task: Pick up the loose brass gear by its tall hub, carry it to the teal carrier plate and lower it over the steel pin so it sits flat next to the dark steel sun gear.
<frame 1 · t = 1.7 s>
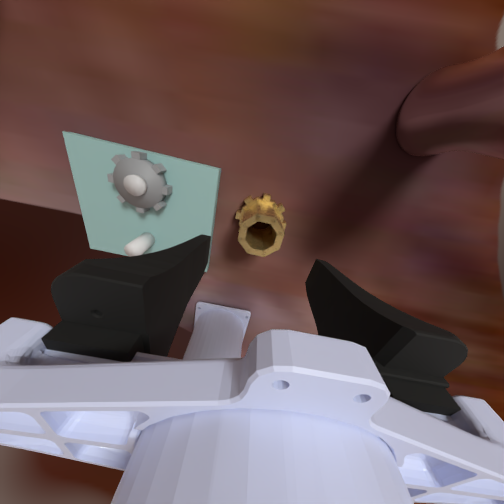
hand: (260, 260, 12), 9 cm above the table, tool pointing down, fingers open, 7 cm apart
planet gear: (260, 218, 20), on the table
carrier plate: (151, 211, 20), on the table
beer glass: (432, 115, 15), on the table
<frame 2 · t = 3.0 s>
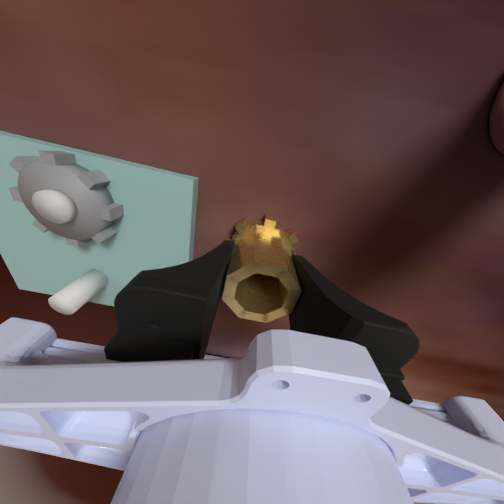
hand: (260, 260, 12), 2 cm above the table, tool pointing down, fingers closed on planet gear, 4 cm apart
planet gear: (260, 249, 14), on the table, touching gripper
carrier plate: (100, 238, 14), on the table
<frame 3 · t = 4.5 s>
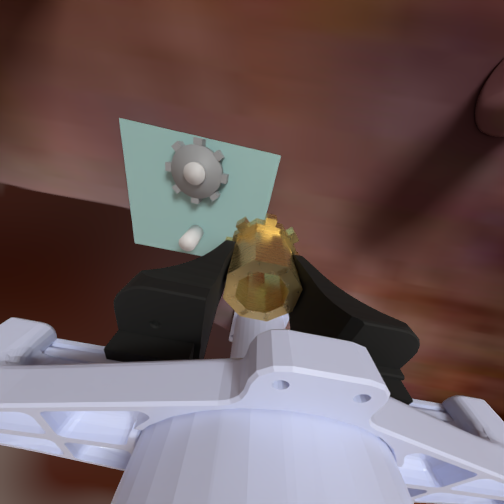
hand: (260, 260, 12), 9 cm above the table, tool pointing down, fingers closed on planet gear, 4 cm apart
planet gear: (261, 248, 14), point 7 cm above the table, touching gripper
carrier plate: (200, 202, 20), on the table
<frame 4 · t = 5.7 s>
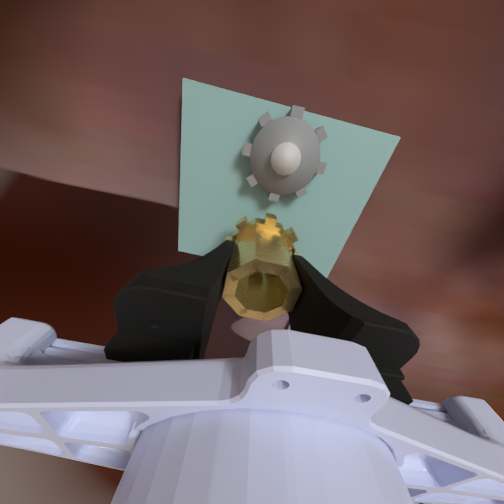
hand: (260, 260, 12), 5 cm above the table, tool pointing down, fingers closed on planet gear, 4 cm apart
planet gear: (261, 247, 14), point 3 cm above the table, touching gripper
carrier plate: (269, 200, 15), on the table
when the fingers open (4 cm above the table, at t = 6.3 s): planet gear drops 1 cm, resting on carrier plate.
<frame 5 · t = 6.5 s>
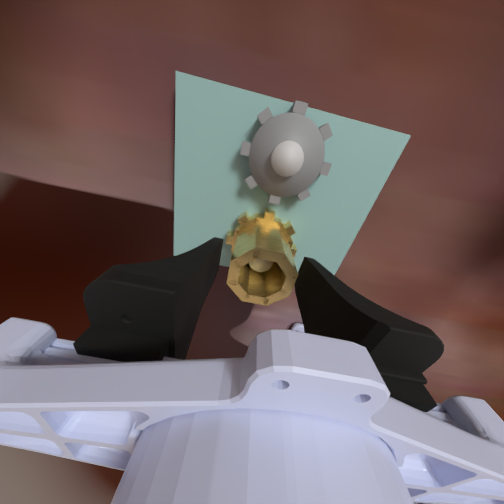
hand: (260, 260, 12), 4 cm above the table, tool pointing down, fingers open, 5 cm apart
planet gear: (261, 241, 15), point 1 cm above the table, touching carrier plate
carrier plate: (270, 202, 14), on the table
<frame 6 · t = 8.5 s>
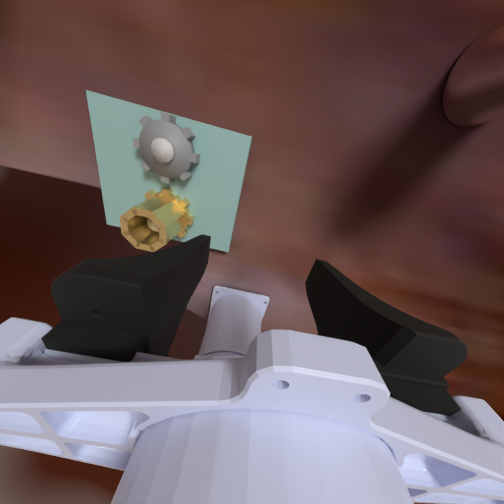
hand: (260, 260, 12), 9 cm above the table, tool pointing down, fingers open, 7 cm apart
planet gear: (169, 213, 20), point 1 cm above the table, touching carrier plate
carrier plate: (174, 184, 19), on the table
beer glass: (482, 81, 15), on the table
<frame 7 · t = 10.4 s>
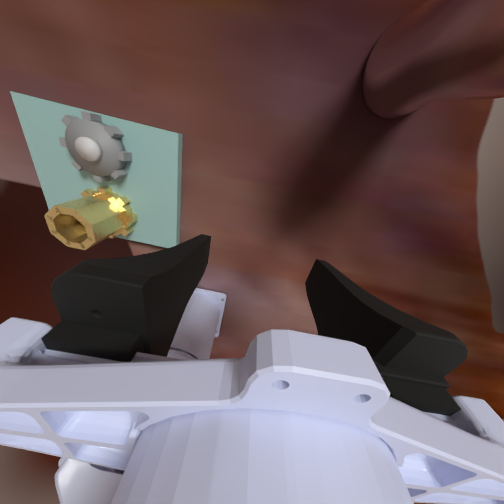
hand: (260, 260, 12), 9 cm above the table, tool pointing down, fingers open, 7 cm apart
planet gear: (112, 211, 20), point 1 cm above the table, touching carrier plate
carrier plate: (114, 183, 19), on the table
beer glass: (401, 72, 15), on the table
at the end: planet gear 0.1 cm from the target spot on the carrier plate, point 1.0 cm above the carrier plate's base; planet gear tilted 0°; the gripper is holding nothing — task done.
